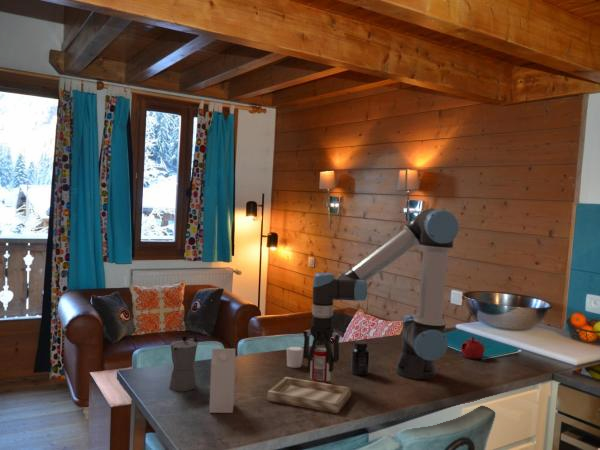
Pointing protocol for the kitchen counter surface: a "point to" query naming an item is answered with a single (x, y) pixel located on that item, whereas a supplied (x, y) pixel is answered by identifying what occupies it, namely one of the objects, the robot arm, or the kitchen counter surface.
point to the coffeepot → (183, 364)
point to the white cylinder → (294, 356)
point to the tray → (310, 394)
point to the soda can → (320, 364)
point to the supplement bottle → (360, 359)
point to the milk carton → (222, 380)
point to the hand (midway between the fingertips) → (320, 378)
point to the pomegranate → (472, 349)
